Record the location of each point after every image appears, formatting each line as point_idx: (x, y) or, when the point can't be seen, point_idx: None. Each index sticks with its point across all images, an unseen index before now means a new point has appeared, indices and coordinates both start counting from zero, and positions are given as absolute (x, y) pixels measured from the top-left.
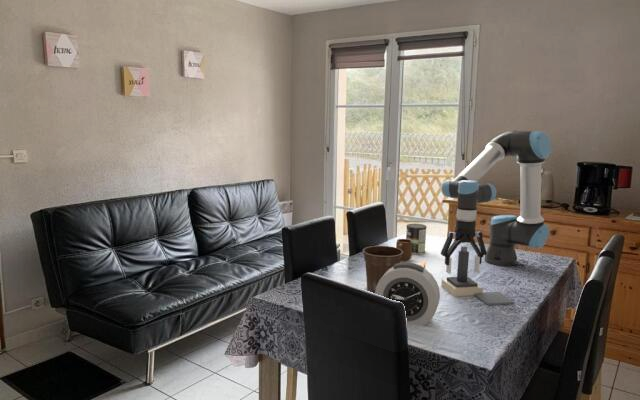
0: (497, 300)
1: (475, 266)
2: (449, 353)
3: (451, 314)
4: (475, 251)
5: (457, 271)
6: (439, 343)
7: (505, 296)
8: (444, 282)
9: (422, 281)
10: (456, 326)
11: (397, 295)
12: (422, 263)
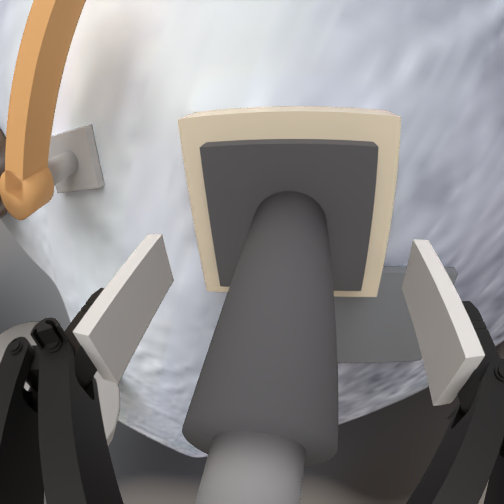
0: (373, 348)
1: (421, 287)
2: (149, 434)
3: (170, 373)
4: (471, 414)
5: (241, 252)
6: (137, 421)
7: None
8: (187, 163)
9: None
10: (171, 406)
11: None
12: (43, 2)
